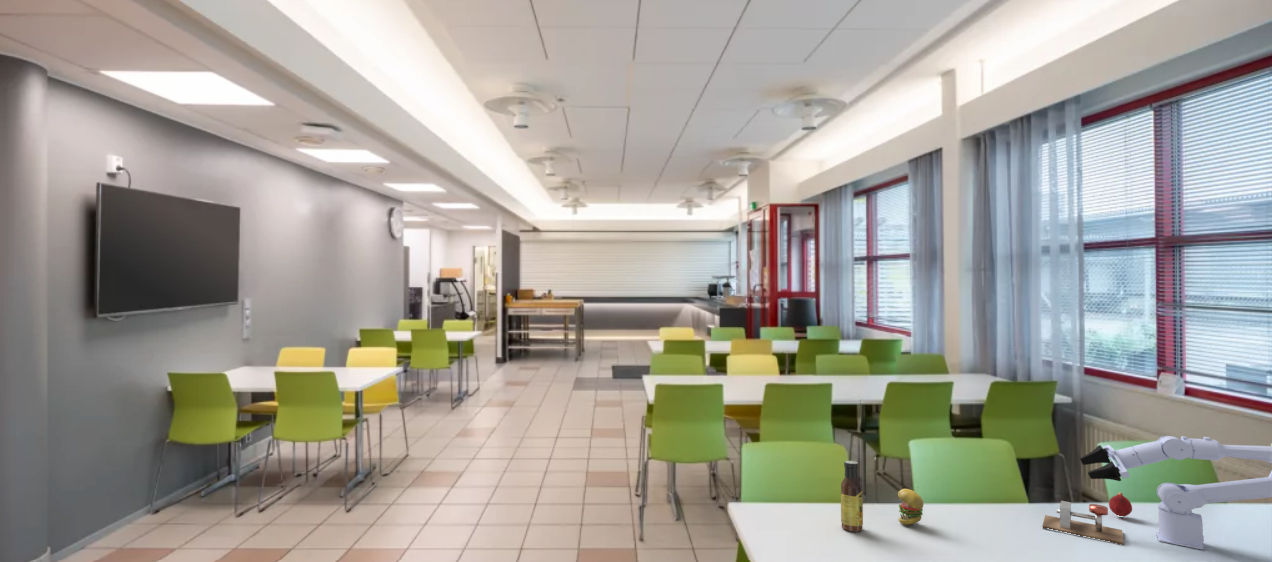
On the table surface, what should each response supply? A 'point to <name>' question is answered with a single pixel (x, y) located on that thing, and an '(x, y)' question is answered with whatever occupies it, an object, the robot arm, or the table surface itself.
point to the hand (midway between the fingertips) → (1085, 468)
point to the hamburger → (910, 507)
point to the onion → (1120, 505)
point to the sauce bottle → (851, 498)
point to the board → (1085, 530)
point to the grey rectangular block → (1065, 515)
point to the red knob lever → (1095, 509)
